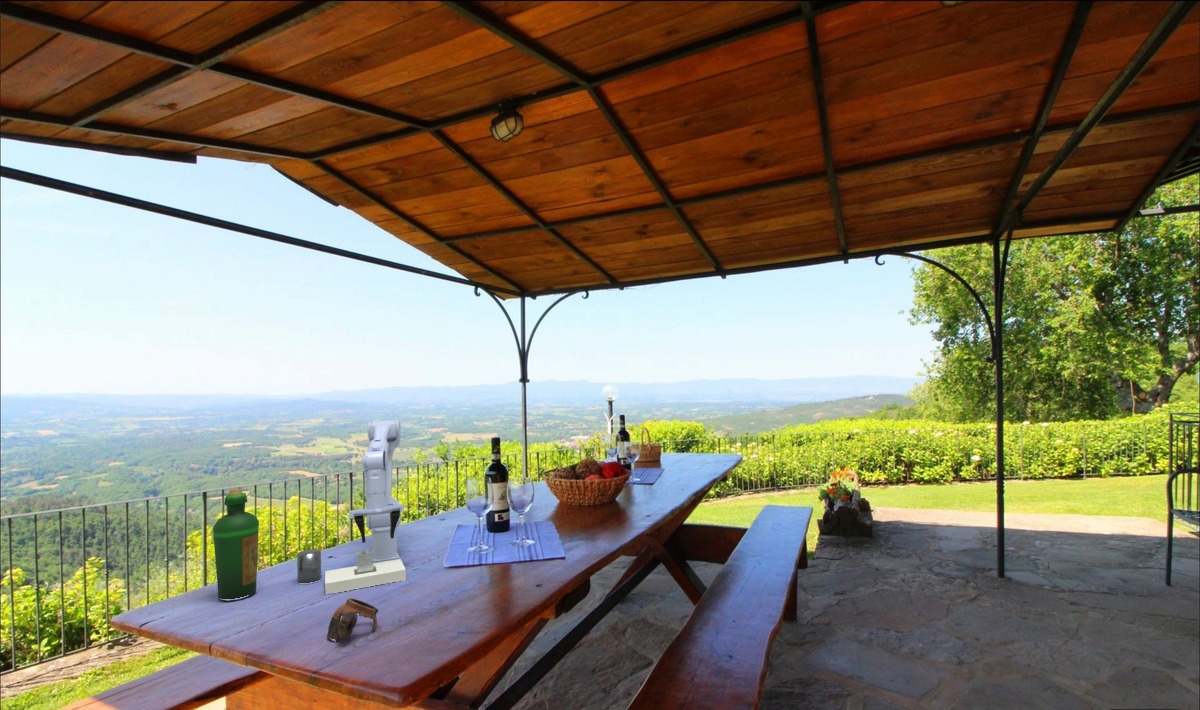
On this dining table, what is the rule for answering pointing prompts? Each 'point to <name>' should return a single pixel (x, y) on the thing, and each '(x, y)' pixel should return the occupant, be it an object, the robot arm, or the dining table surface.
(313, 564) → the round dark peg
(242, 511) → the bottle
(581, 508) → the dining table surface
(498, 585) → the dining table surface
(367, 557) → the square steel peg
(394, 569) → the cream socket block
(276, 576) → the dining table surface
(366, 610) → the brown curved piece
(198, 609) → the dining table surface
